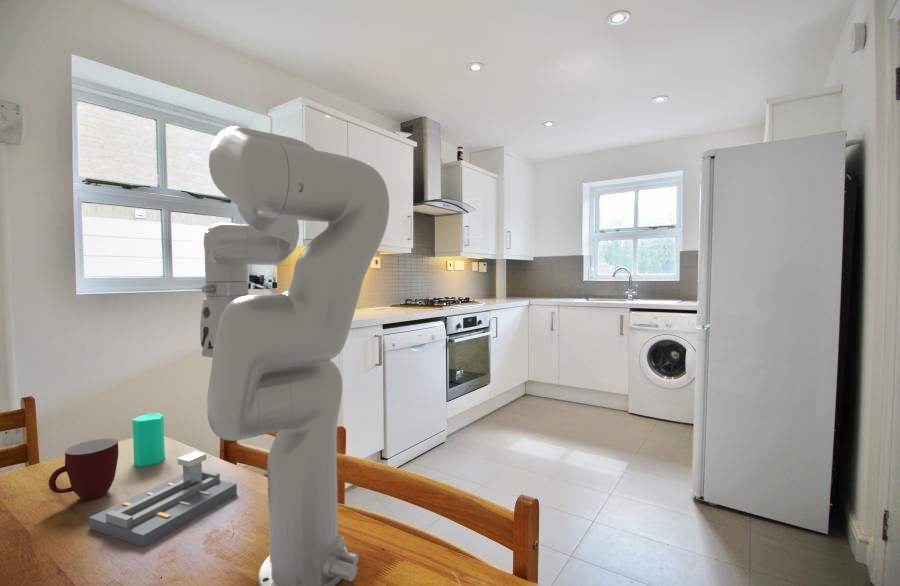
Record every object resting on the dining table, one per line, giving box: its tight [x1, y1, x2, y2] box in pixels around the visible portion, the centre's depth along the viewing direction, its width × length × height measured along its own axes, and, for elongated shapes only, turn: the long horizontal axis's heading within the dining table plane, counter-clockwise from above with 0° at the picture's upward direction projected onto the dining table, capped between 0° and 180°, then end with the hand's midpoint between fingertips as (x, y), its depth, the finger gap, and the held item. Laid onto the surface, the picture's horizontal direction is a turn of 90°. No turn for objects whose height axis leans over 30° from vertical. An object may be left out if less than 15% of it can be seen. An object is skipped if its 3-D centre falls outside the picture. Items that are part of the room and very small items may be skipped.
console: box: [88, 468, 238, 548], centre depth 80 cm, size 14×18×4 cm
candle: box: [131, 410, 166, 467], centre depth 101 cm, size 6×6×12 cm
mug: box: [48, 438, 119, 502], centre depth 84 cm, size 11×8×10 cm
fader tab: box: [177, 450, 207, 488], centre depth 84 cm, size 3×4×6 cm
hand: (230, 381), depth 86 cm, fingers closed
